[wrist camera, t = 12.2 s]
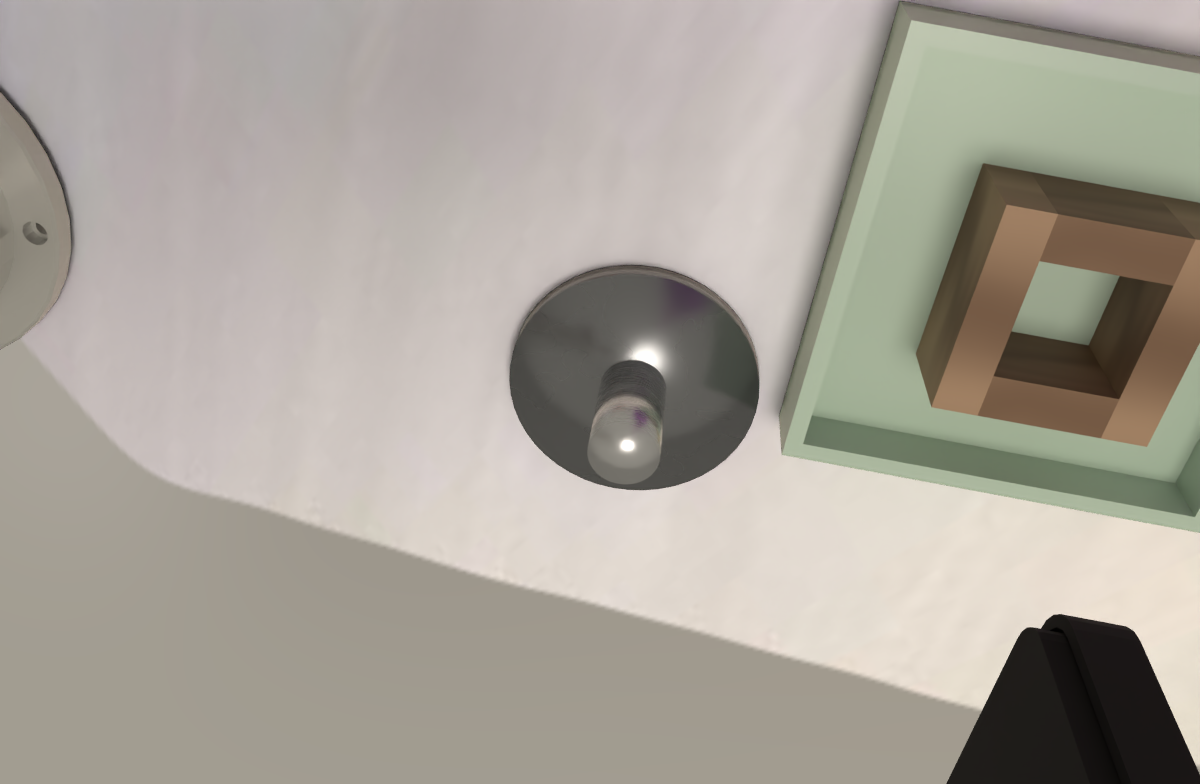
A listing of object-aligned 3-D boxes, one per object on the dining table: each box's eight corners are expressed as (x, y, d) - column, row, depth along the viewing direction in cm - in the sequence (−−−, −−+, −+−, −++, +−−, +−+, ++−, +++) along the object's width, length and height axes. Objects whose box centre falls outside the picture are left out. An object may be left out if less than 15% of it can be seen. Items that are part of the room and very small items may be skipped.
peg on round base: (500, 454, 43) (475, 535, 39) (528, 244, 38) (503, 309, 34) (729, 497, 43) (728, 582, 39) (785, 291, 38) (792, 363, 34)
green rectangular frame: (779, 416, 41) (781, 454, 39) (899, 0, 33) (911, 20, 31) (1179, 491, 41) (1204, 533, 39) (1396, 92, 33) (1442, 119, 31)
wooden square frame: (983, 162, 35) (1006, 204, 32) (1202, 203, 35) (1247, 248, 32) (915, 353, 39) (931, 407, 36) (1114, 390, 38) (1146, 447, 36)
